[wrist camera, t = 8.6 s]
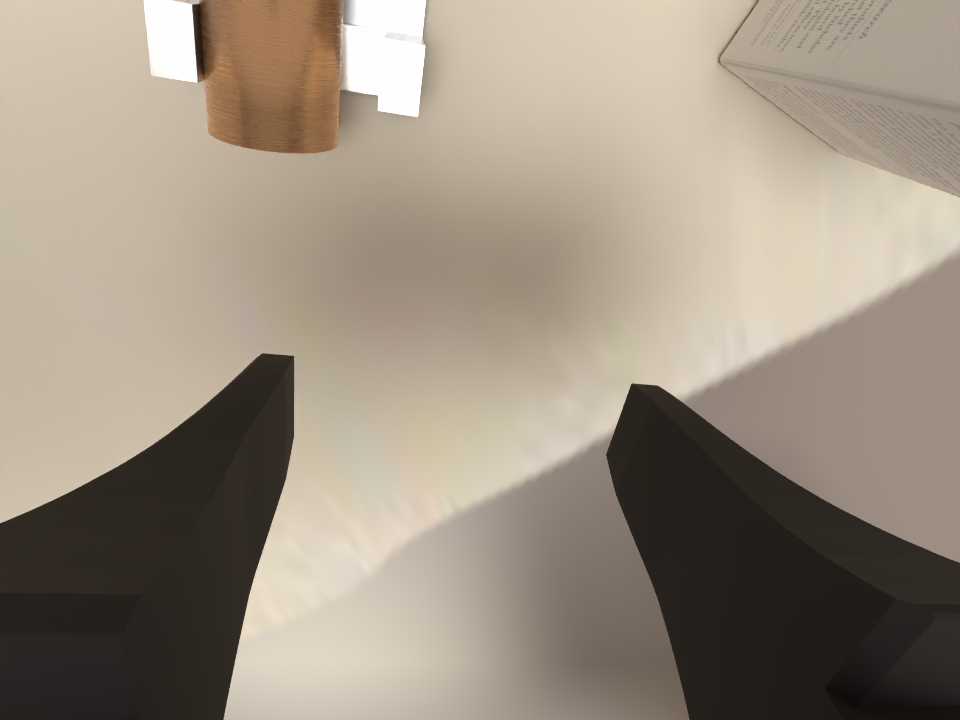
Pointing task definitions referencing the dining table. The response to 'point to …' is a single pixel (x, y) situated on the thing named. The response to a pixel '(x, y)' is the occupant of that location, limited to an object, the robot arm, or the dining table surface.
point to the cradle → (365, 47)
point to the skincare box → (863, 78)
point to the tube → (273, 72)
